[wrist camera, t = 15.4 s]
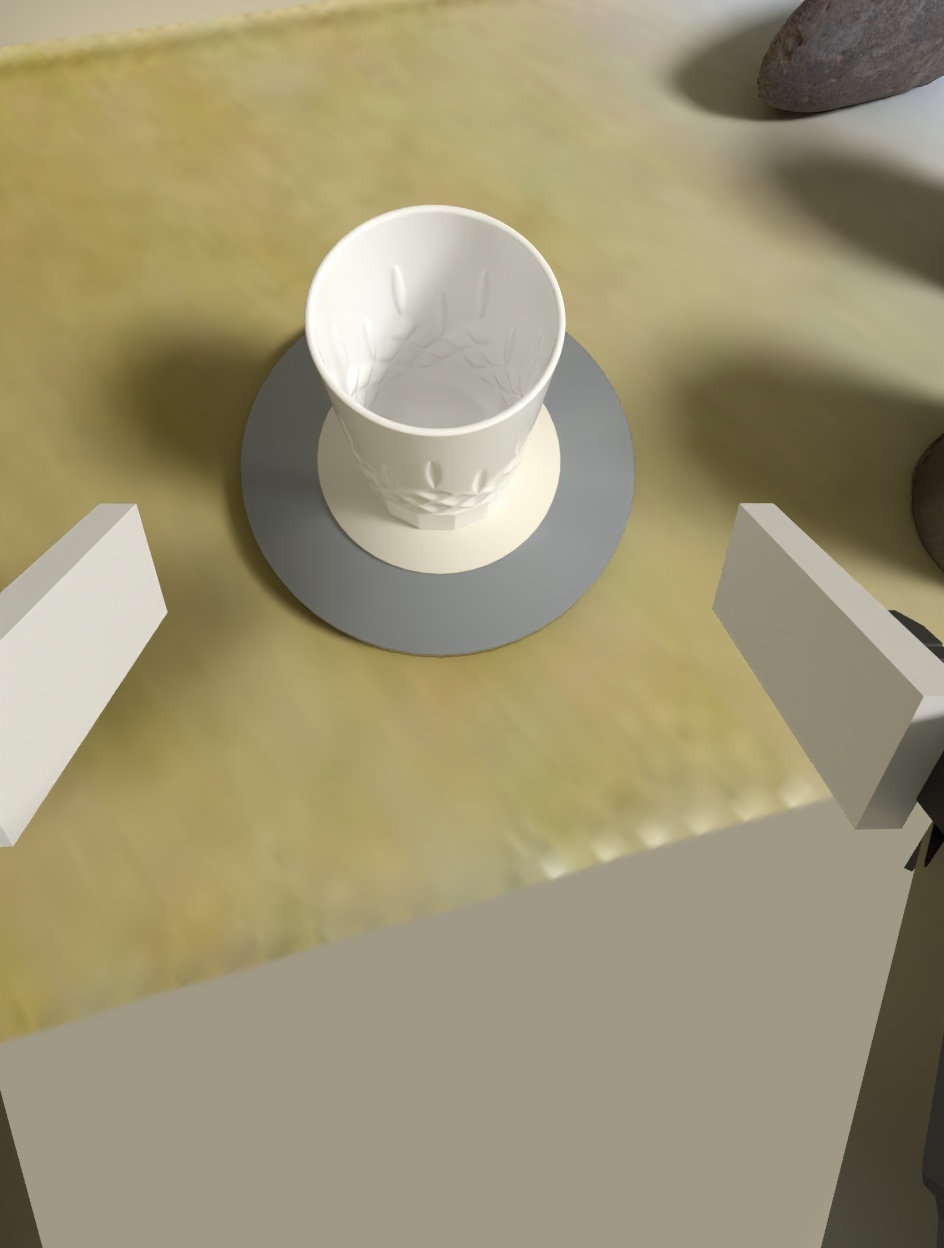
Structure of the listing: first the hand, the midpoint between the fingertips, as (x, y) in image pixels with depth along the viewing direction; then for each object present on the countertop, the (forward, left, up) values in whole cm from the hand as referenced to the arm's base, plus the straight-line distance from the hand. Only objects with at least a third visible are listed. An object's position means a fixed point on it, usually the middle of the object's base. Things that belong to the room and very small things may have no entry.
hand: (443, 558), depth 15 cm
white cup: (-6, +6, -13) cm, 16 cm away
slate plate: (-7, +6, -15) cm, 17 cm away
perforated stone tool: (-7, +39, -15) cm, 42 cm away
